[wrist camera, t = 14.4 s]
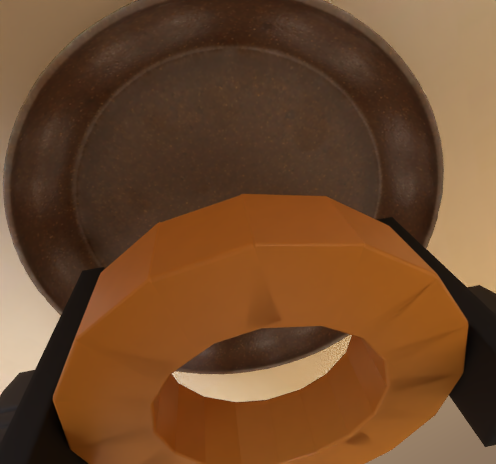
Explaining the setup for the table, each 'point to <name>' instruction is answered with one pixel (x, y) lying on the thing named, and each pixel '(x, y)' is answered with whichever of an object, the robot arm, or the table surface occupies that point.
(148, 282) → the ring
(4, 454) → the robot arm
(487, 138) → the table surface
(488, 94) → the table surface
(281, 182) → the plant saucer
